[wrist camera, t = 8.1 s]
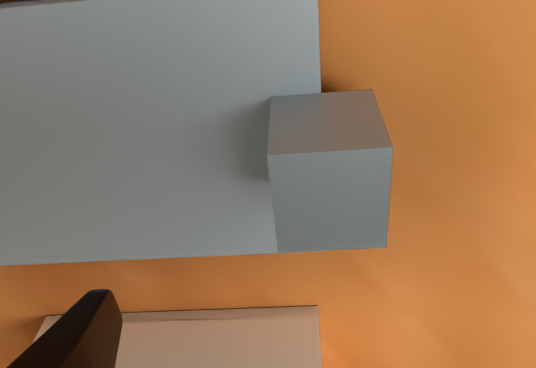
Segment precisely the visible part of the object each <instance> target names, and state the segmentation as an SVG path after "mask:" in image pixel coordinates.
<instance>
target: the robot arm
mask: <svg viewBox="0 0 536 368" xmlns="http://www.w3.org/2000/svg"><path fill="white" fill-rule="evenodd" d="M122 324H123V320H122V314H121V312H120V309H119V307H118V304H117V302H116V300H115V297H114V295H113V293H112V291H111V290H108V289H99V290H91V291H89V292H87V293H86V294H85V295H84V296H83V297H82V298H81V299H80V300H79V301H78V302H77V303H75V304H74V305H73V306H72V307H71V308H70V309H69V310H68V311H67V312H66V313H65V314H64V315H63V316H62V317H60V318H59V319H58V320H57V321H56V322H55V323H54V324H53V325H52V326H51V327H50V328H49V329H48V330H46V331H45V332H44V333H43V334H42V335H41V336H40V337H39V338H38V339H37V340H36V341H35V342H34V343H33V344H31V345H30V346H29V347H28V348H27V349H26V350H25V351H24V352H23V353H22V354H21V355H20V356H19V357H18V358H16V359H15V360H14V361H13V362H12V363H11V364H10V365H9V366H8V367H7V368H115V364H116V358H117V353H118V347H119V342H120V336H121V331H122Z"/></svg>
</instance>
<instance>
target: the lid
mask: <svg viewBox="0 0 536 368" xmlns="http://www.w3.org/2000/svg"><path fill="white" fill-rule="evenodd" d="M392 151H393V147H392V144H391V141H390V138H389V136H388V133H387V130H386V127H385V124H384V121H383V119H382V116H381V113H380V110H379V107H378V105H377V102H376V99H375V96H374V93H373V91H372V89H367V90H354V91H340V92H327V93H321V76H320V47H319V18H318V0H24V1H13V2H3V3H0V266H7V265H29V264H51V263H73V262H95V261H117V260H139V259H161V258H183V257H205V256H227V255H249V254H271V253H293V252H315V251H327V250H347V249H369V248H386V246H387V231H388V215H389V199H390V183H391V167H392Z"/></svg>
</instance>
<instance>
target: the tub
mask: <svg viewBox="0 0 536 368" xmlns="http://www.w3.org/2000/svg"><path fill="white" fill-rule="evenodd" d="M121 314H122V320H123V324H122V331H121V336H120V342H119V347H118V353H117V358H116V364H115V368H322V360H321V345H320V330H319V314H318V306H301V307H274V308H246V309H219V310H192V311H164V312H137V313H121ZM62 316H63V315H54V316H46V318H45V320H44V322H43V324H42V326H41V328H40V330H39V331H38V333H37V335H36V337H35V339H34V341H33V343H34V342H35V341H36V340H37V339H38V338H39V337H40V336H41V335H42V334H43V333H44V332H45V331H46V330H48V329H49V328H50V327H51V326H52V325H53V324H54V323H55V322H56V321H57V320H58V319H59V318H60V317H62ZM33 343H32V344H33Z"/></svg>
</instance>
